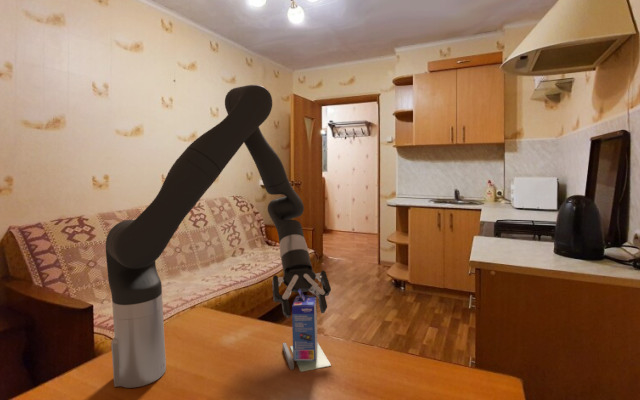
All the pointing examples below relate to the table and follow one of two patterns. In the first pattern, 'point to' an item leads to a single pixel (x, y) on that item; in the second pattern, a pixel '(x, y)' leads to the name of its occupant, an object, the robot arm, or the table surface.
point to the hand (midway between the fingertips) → (306, 314)
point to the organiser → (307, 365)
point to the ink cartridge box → (304, 327)
